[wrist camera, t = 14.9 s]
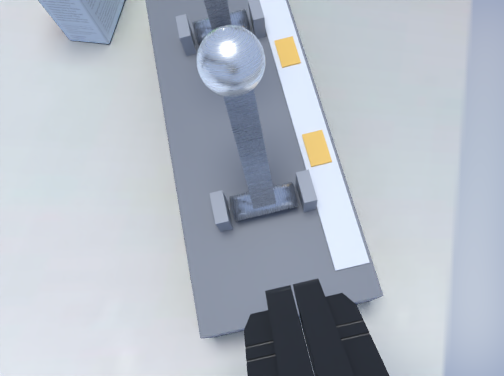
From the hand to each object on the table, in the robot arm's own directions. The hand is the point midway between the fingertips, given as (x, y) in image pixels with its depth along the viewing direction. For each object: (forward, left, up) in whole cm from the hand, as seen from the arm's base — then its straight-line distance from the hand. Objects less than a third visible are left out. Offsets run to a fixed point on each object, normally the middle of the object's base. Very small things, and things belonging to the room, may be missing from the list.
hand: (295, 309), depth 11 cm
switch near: (0, +7, -12) cm, 14 cm away
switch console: (0, +14, -17) cm, 22 cm away
